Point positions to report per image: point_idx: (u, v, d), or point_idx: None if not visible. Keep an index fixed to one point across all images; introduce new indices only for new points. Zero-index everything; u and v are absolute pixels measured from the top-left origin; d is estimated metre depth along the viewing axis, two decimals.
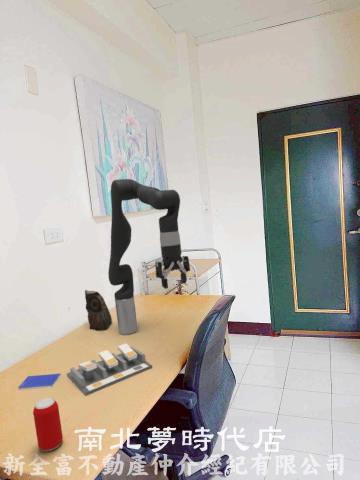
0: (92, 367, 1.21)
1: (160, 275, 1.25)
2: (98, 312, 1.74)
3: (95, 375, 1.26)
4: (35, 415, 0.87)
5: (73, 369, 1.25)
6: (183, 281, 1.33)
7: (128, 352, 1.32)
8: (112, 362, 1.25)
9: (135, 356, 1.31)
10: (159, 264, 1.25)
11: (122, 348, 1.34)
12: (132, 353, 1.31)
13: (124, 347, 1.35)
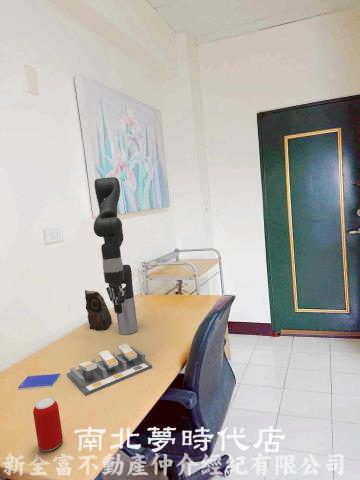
0: (92, 367, 1.21)
1: None
2: (98, 312, 1.74)
3: (95, 375, 1.26)
4: (35, 415, 0.87)
5: (73, 369, 1.25)
6: None
7: (128, 352, 1.32)
8: (112, 362, 1.25)
9: (135, 356, 1.31)
10: (125, 293, 1.30)
11: (122, 348, 1.34)
12: (132, 353, 1.31)
13: (124, 347, 1.35)
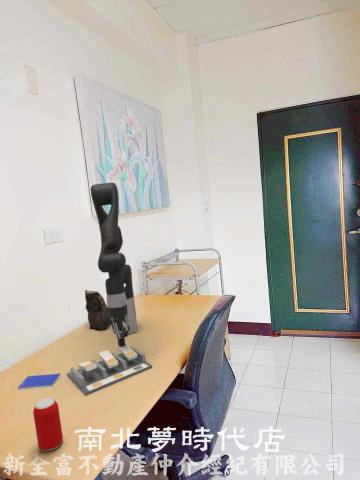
0: (92, 367, 1.21)
1: None
2: (98, 312, 1.74)
3: (95, 375, 1.26)
4: (35, 415, 0.87)
5: (73, 369, 1.25)
6: None
7: (128, 352, 1.32)
8: (112, 362, 1.25)
9: (135, 356, 1.31)
10: None
11: (122, 348, 1.34)
12: (132, 353, 1.31)
13: (124, 347, 1.35)
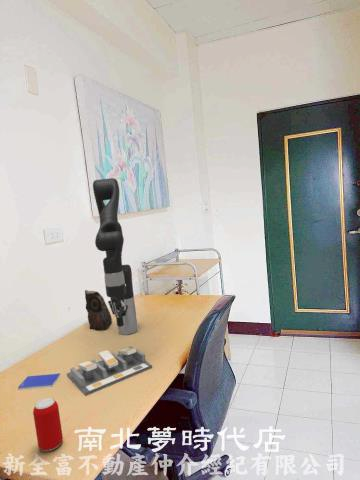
0: (92, 367, 1.21)
1: None
2: (98, 312, 1.74)
3: (95, 375, 1.26)
4: (35, 415, 0.87)
5: (73, 369, 1.25)
6: None
7: (127, 349, 1.32)
8: (112, 362, 1.25)
9: (134, 350, 1.31)
10: None
11: (122, 350, 1.35)
12: (131, 349, 1.31)
13: (124, 349, 1.35)
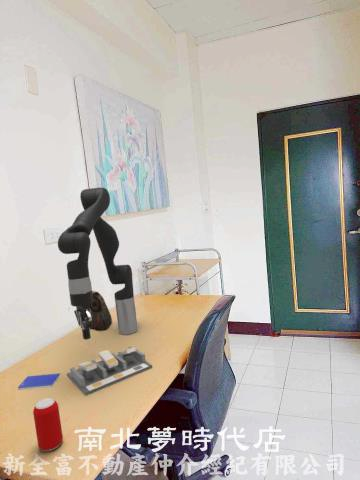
0: (92, 367, 1.21)
1: None
2: (98, 312, 1.74)
3: (95, 375, 1.26)
4: (35, 415, 0.87)
5: (73, 369, 1.25)
6: None
7: None
8: (112, 362, 1.25)
9: (133, 349, 1.31)
10: None
11: None
12: None
13: (124, 350, 1.36)
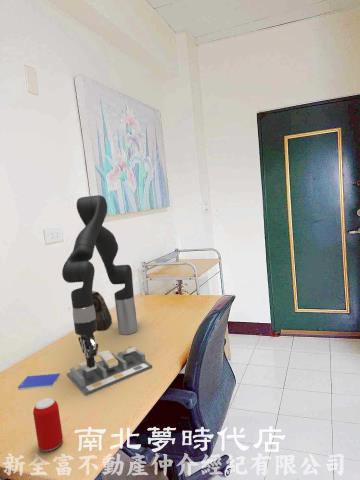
0: (92, 367, 1.21)
1: None
2: (98, 312, 1.74)
3: (95, 375, 1.26)
4: (35, 415, 0.88)
5: (73, 369, 1.25)
6: None
7: None
8: (112, 362, 1.25)
9: (133, 349, 1.31)
10: (97, 346, 1.16)
11: None
12: None
13: None
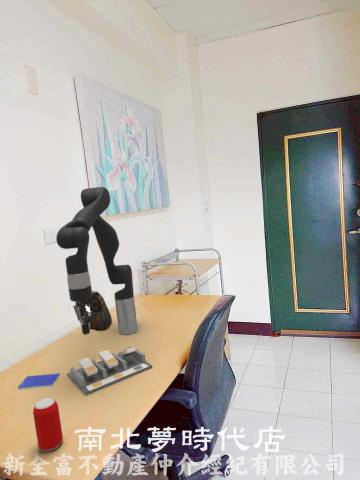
0: (93, 372, 1.21)
1: None
2: (98, 312, 1.74)
3: (95, 375, 1.26)
4: (35, 415, 0.87)
5: (73, 369, 1.25)
6: None
7: None
8: (112, 362, 1.25)
9: (133, 349, 1.31)
10: (92, 312, 1.15)
11: None
12: None
13: None
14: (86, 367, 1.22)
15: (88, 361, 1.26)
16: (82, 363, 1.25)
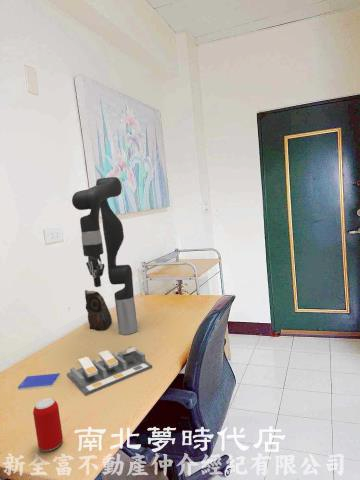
0: (93, 373, 1.21)
1: None
2: (98, 312, 1.74)
3: (95, 375, 1.26)
4: (35, 415, 0.87)
5: (73, 369, 1.25)
6: None
7: None
8: (112, 362, 1.25)
9: (133, 349, 1.31)
10: (103, 266, 1.30)
11: None
12: None
13: None
14: (86, 368, 1.22)
15: (88, 361, 1.26)
16: (82, 363, 1.24)
